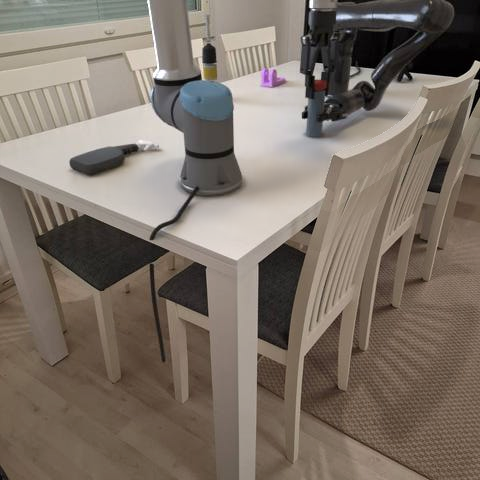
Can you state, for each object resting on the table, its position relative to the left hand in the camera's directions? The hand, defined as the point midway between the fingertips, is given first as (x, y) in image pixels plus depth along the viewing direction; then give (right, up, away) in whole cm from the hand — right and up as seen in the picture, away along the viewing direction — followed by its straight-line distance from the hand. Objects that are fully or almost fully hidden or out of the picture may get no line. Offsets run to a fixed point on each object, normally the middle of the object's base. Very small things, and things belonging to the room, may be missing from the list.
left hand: (316, 96), depth 134 cm
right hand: (-2, -6, +1) cm, 6 cm away
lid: (0, +3, -2) cm, 4 cm away
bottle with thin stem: (-34, +14, +45) cm, 59 cm away
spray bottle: (-57, -21, -9) cm, 62 cm away
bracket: (-7, +27, +65) cm, 71 cm away
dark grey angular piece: (+49, +29, +67) cm, 88 cm away
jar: (0, -10, +6) cm, 12 cm away
